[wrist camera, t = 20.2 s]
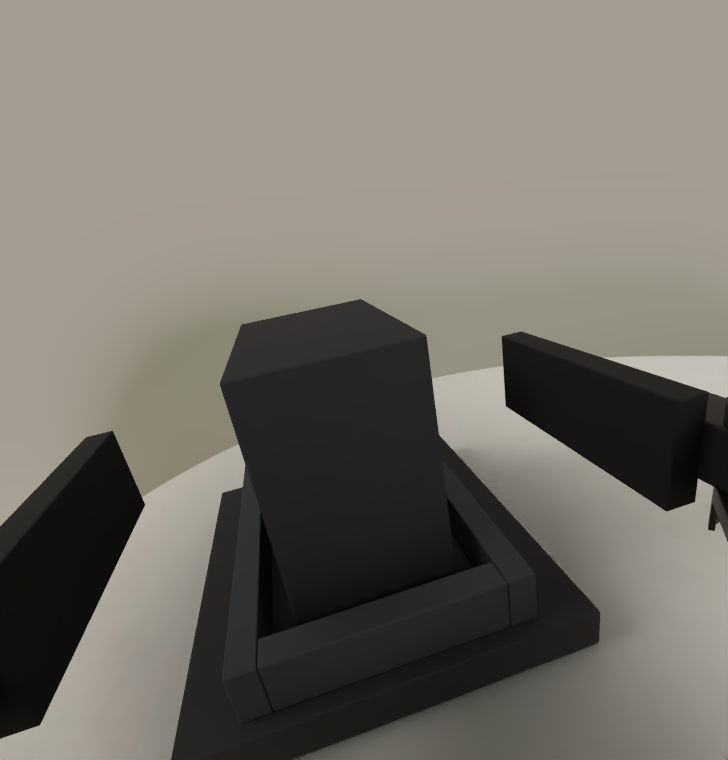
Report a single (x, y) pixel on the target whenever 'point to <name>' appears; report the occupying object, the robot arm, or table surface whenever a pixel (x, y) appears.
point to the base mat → (367, 634)
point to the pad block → (342, 453)
